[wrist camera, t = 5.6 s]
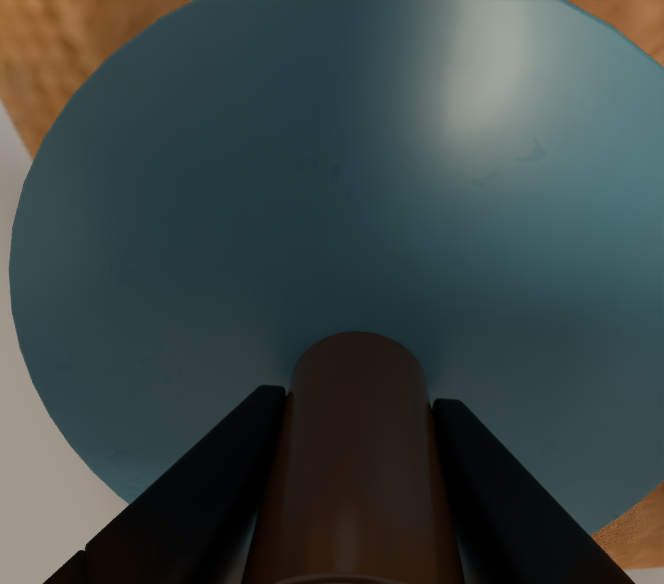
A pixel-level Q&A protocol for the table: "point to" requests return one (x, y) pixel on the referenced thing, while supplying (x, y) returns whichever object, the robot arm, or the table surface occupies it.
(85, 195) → the tin lid
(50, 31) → the table surface
